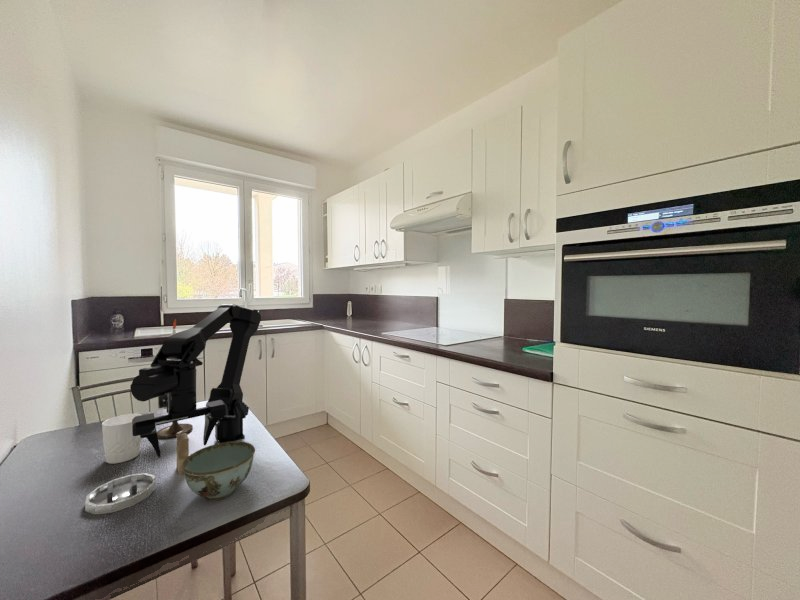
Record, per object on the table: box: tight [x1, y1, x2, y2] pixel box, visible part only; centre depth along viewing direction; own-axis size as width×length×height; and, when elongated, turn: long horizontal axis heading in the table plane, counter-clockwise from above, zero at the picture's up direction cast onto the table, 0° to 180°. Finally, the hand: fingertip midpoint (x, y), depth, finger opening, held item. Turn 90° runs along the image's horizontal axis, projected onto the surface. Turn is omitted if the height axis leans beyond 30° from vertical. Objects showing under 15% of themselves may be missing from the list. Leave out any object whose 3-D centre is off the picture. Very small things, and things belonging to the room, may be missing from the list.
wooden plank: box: [175, 433, 190, 475], centre depth 77 cm, size 2×4×8 cm, turn 41°
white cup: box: [101, 413, 142, 464], centre depth 82 cm, size 8×8×10 cm
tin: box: [84, 472, 157, 515], centre depth 66 cm, size 11×11×2 cm
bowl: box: [182, 440, 256, 502], centre depth 68 cm, size 14×13×8 cm
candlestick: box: [157, 319, 194, 440], centre depth 97 cm, size 11×11×35 cm
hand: (182, 450), depth 77 cm, fingers open, 9 cm apart
